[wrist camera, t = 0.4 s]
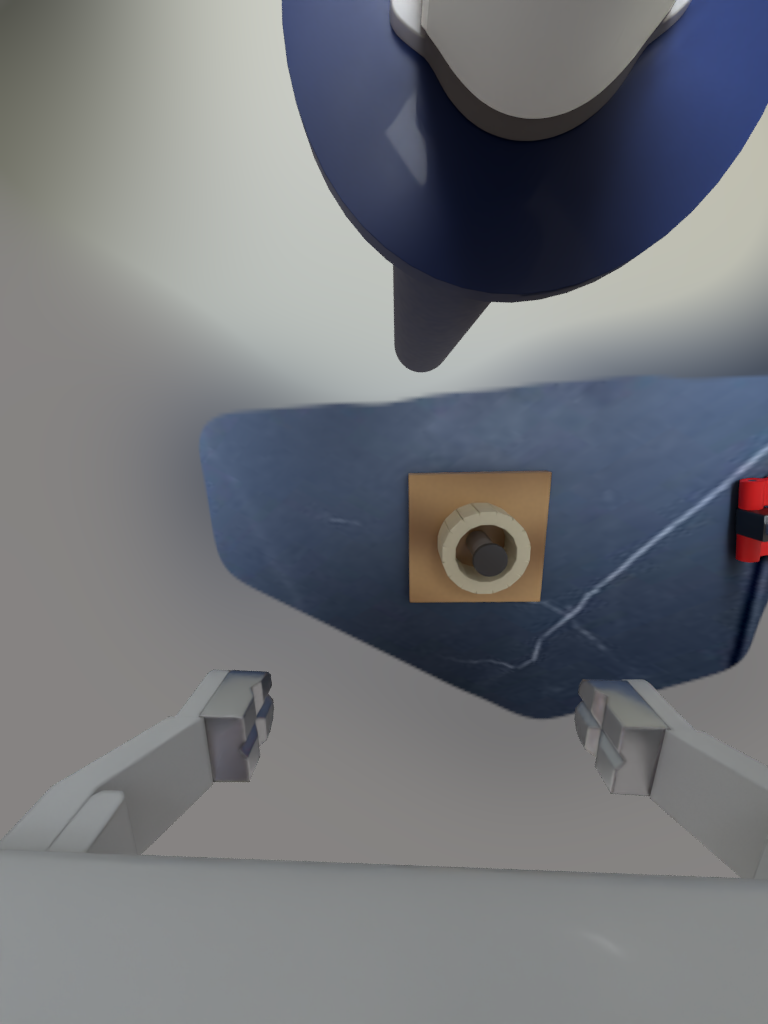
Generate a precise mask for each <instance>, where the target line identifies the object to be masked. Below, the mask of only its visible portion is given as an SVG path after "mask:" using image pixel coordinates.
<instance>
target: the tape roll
mask: <svg viewBox="0 0 768 1024" xmlns="http://www.w3.org/2000/svg"><path fill="white" fill-rule="evenodd" d="M480 525H495V526H497V527H500V528H502V529H503V531H504V534H505V546H504V548H503V549H504V550H505V552H506V553H507V556H508V563H507V566H506V568H505V569H504V571H503V572H501V573H500V574H498V575H496V576H492V577H487V576H483V575H481V574H479V573H478V572H477V571H476V569H475V568H474V566H473V567H471V566H468V565H466V564H463V563H461V562H460V561H459V560H458V559H456V547H457V545H458V543H459V541H460V539H461V537H462V536H463V535H465V534H466V533H467V532H468V531H469V530H470V529H473V528H475V527H477V526H480ZM438 534H439V535H438V552H439V555H440V558H441V561H442V564H443V566H444V569H445V571H446V573H447V576H448V577H449V578H450V579H451V580H452V581H453V582H454V583H455V584H456V585H457V586H458V587H460V588H461V589H464V590H466V591H469V592H472V593H474V594H475V593H476V594H492V592H493V593H496V592H499V591H501V590H504V589H507V588H508V587H510V586H511V585H512V584H513V583H515V582H516V581H517V580H518V579H519V578H520V577H521V576H522V575H523V573H524V571H525V569H526V567H527V566H528V564H529V562H528V561H530V550H531V546H530V541H529V539H528V536H527V533H526V531H525V530H524V528H523V527H522V526H521V525H520V524H519V523H518V522H517V521H516V520H515V519H514V518H513V517H512V516H510V515H509V514H508V513H507V512H506V511H504V510H503V509H502V508H500V507H497V506H495V505H492V504H490V503H471V504H470V503H469V504H467V505H464V506H462V507H460V508H457V511H456V510H454V511H453V512H452V513H451V514H450V515H449V516H448V517H447V518H446V519H445V521H443V524H442V526H441V528H440V530H439V533H438ZM520 575H521V576H520Z"/></svg>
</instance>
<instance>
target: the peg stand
mask: <svg viewBox="0 0 768 1024" xmlns="http://www.w3.org/2000/svg"><path fill="white" fill-rule="evenodd" d="M551 475H552V472H549V471H546V470H544V471H493V472H441V473H409V474H408V495H409V600H410V602H540V596H541V585H542V574H543V563H544V552H545V541H546V530H547V519H548V508H549V497H550V486H551ZM469 503H470V504H471V503H490V504H492V505H495V506H497V507H500V508H502V509H503V510H504V511H506V512H507V513H508V514H509V515H510V516H512V517H513V518H514V519H515V520H516V521H517V522H518V523H519V524H520V525H521V526H522V527H523V528H524V530H525V531H526V533H527V536H528V539H529V541H530V546H531V550H530V561H528V562H529V564H528V566H527V567H526V569H525V571H524V573H523V575H522V576H521V575H520V576H521V577H520V578H519V579H518V580H517V581H516V582H515V583H513V584H512V585H511V586H510V587H508V588H507V589H504V590H501V591H499V592H496V593H493V592H492V594H476V593H475V594H474V593H472V592H469V591H466V590H464V589H461V588H460V587H458V586H457V585H456V584H455V583H454V582H453V581H452V580H451V579H450V578H449V577H448V576H447V573H446V571H445V569H444V566H443V564H442V561H441V558H440V555H439V552H438V535H439V534H438V533H439V530H440V528H441V526H442V524H443V521H445V519H446V518H447V517H448V516H449V515H450V514H451V513H452V512H453V511H454V510H456V511H457V508H460V507H462V506H464V505H467V504H469ZM504 546H505V534H504V531H503V529H502V528H500V527H497V526H495V525H480V526H477V527H475V528H473V529H470V530H469V531H468V532H467V533H466V534H465V535H463V536H462V537H461V539H460V541H459V543H458V545H457V547H456V559H458V560H459V561H460V562H461V563H463V564H466V565H468V566H471V567H473V566H474V568H475V569H476V571H477V572H478V573H479V574H481V575H483V576H487V577H492V576H496V575H498V574H500V573H501V572H503V571H504V569H505V568H506V566H507V563H508V556H507V553H506V552H505V550H504V549H503V548H504Z"/></svg>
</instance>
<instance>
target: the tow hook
mask: <svg viewBox="0 0 768 1024" xmlns="http://www.w3.org/2000/svg"><path fill="white" fill-rule="evenodd" d="M767 505H768V477H767V478H762V479H760V478H746V479H741V480H739V499H738V507H737V508H736V522H735V532H736V533H737V538H736V557H735V558H736V559H737V560H739V561H743V562H758V561H759V560H760V556H765V555H767V556H768V508H766V507H763V506H767Z"/></svg>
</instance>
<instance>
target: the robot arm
mask: <svg viewBox="0 0 768 1024" xmlns="http://www.w3.org/2000/svg"><path fill="white" fill-rule="evenodd" d="M691 1H692V0H390V9H389V17H390V23H391V26H392V28H393V30H394V32H395V33H396V34H397V35H398V37H399V38H400V39H401V40H402V41H404V42H405V43H406V44H407V45H408V46H410V47H411V48H412V49H413V50H415V51H416V52H417V53H419V54H420V55H421V56H423V57H424V58H425V59H426V60H427V62H428V63H429V64H430V66H431V68H432V69H433V71H434V73H435V75H436V77H437V78H438V80H439V82H440V84H441V86H442V88H443V90H444V91H445V93H446V94H447V96H448V98H449V99H450V100H451V102H452V103H453V104H454V106H455V107H456V108H457V109H458V110H459V111H460V112H461V113H462V114H463V115H464V116H465V117H466V118H467V119H468V120H469V121H471V122H472V123H473V124H475V125H476V126H477V127H479V128H481V129H482V130H484V131H486V132H488V133H490V134H492V135H495V136H498V137H501V138H505V139H509V140H515V141H536V140H542V139H547V138H551V137H555V136H557V135H560V134H563V133H565V132H567V131H569V130H571V129H573V128H575V127H577V126H578V125H580V124H582V123H583V122H585V121H586V120H587V119H589V118H590V117H591V116H593V115H594V114H595V113H596V112H597V111H599V110H600V109H601V108H602V107H603V106H604V105H605V104H606V103H607V102H608V101H609V99H610V98H611V97H612V96H613V95H614V94H615V92H616V91H617V90H618V89H619V87H620V86H621V85H622V83H623V82H624V80H625V79H626V77H627V76H628V74H629V72H630V71H631V69H632V67H633V66H634V64H635V63H636V61H637V59H638V58H639V56H640V55H641V54H642V52H643V51H644V50H645V48H646V47H647V46H648V45H649V44H650V43H651V42H652V41H654V40H655V39H656V38H658V37H659V36H660V35H661V34H662V33H664V32H665V31H666V30H667V29H669V28H670V27H671V26H672V25H673V24H674V23H675V22H676V21H677V20H678V19H679V18H680V17H681V16H682V15H683V14H684V12H685V11H686V9H687V8H688V6H689V4H690V2H691ZM271 686H272V682H271V674H269V672H261V671H240V670H232V671H231V670H212V671H210V672H209V673H208V674H207V675H206V676H205V678H204V679H203V680H202V682H201V683H200V685H199V686H198V687H197V688H196V690H195V691H194V693H193V694H192V695H191V696H190V698H189V699H188V700H187V702H186V703H185V705H184V706H183V707H182V708H181V710H180V711H179V713H178V714H177V715H176V716H175V717H173V716H172V717H170V716H169V717H168V718H166V719H164V720H163V721H161V722H159V723H158V724H156V725H154V726H152V727H151V728H149V729H147V730H146V731H144V732H142V733H141V734H139V735H137V736H136V737H134V738H132V739H131V740H129V741H127V742H126V743H124V744H122V745H120V746H119V747H117V748H115V749H114V750H112V751H110V752H109V753H107V754H105V755H104V756H102V757H101V758H98V759H97V760H95V761H93V762H92V763H90V764H88V765H87V766H85V767H83V768H82V769H80V770H78V771H77V772H75V773H73V774H71V775H70V776H68V777H66V778H65V779H63V780H62V781H60V782H58V783H56V784H55V785H53V786H52V787H51V788H50V789H49V790H48V791H47V792H46V793H45V794H44V795H43V796H42V797H41V798H40V799H39V800H38V801H37V802H36V803H35V805H34V806H33V807H32V808H31V809H30V810H29V811H28V812H27V813H26V814H25V815H24V816H23V817H22V818H21V819H20V821H18V822H17V824H16V825H15V826H14V827H13V828H12V829H11V830H10V831H9V832H8V833H7V834H6V835H5V836H4V837H3V838H2V840H0V1024H768V766H767V765H765V764H763V763H761V762H759V761H757V760H756V759H754V758H752V757H750V756H748V755H746V754H745V753H742V752H741V751H739V750H737V749H735V748H734V747H732V746H730V745H728V744H726V743H724V742H722V741H720V740H719V739H717V738H715V737H713V736H711V735H710V734H708V733H706V732H704V731H696V730H695V729H694V728H693V727H692V726H691V725H690V724H689V723H688V722H687V721H686V720H685V719H684V718H683V717H682V716H681V715H680V714H679V713H678V712H677V711H676V710H675V709H674V708H673V707H672V706H671V705H670V704H669V702H668V701H667V700H665V698H664V697H662V695H661V694H660V693H659V692H658V691H657V690H656V689H655V688H654V687H653V686H652V685H651V684H650V683H649V682H647V681H645V680H585V679H583V680H582V681H581V683H580V685H579V691H578V693H579V695H580V696H581V698H582V699H583V701H582V702H581V703H580V704H579V705H578V706H577V707H576V710H575V725H576V731H577V734H578V737H579V739H580V741H581V743H582V745H583V747H584V748H585V750H587V751H588V752H589V753H590V754H592V755H593V756H595V757H596V762H595V767H596V769H597V771H598V773H599V774H600V776H601V778H602V779H603V781H604V783H605V785H606V786H607V788H608V790H609V791H610V793H611V794H623V795H639V796H650V799H651V800H652V801H654V802H655V803H656V804H657V805H658V806H659V807H660V808H661V809H663V810H664V811H665V812H666V813H667V814H668V815H670V816H671V817H672V818H673V819H674V820H675V821H676V822H678V823H679V824H680V825H681V826H682V827H683V828H685V829H686V830H687V831H688V832H689V833H690V834H691V835H692V836H694V837H695V838H696V839H697V840H698V841H699V842H700V843H702V844H703V845H704V846H705V847H706V848H707V849H709V850H710V851H711V852H712V853H713V854H714V855H715V856H717V857H718V858H719V859H720V860H721V861H722V862H723V863H725V864H726V865H727V866H728V867H729V868H730V869H731V870H733V871H734V872H735V873H736V874H737V875H738V876H740V877H741V878H722V877H696V876H672V875H647V874H645V875H644V874H619V873H595V872H568V871H543V870H517V869H492V868H491V869H490V868H465V867H439V866H413V865H389V864H363V863H337V862H311V861H285V860H260V859H233V858H207V857H182V856H156V855H141V854H142V853H143V852H144V851H145V850H146V849H147V848H148V847H149V846H150V845H151V844H152V843H153V842H154V841H155V840H157V839H158V838H159V837H160V836H161V835H162V834H163V833H164V832H165V831H166V830H167V829H168V828H169V827H170V826H171V825H172V824H173V823H174V822H175V821H176V820H177V819H178V818H179V817H180V816H181V815H182V814H183V813H184V812H185V811H186V810H187V809H188V808H189V807H190V806H192V805H193V804H194V802H196V801H197V800H198V799H199V798H200V797H201V796H202V795H203V794H204V793H205V792H206V791H207V790H208V789H209V788H210V787H211V786H212V785H213V782H250V779H251V777H252V775H253V772H254V770H255V767H256V765H257V763H258V760H259V758H260V750H259V746H260V745H261V744H263V743H264V742H265V741H266V740H267V738H268V735H269V733H270V730H271V725H272V721H273V711H274V705H273V699H272V698H271V697H270V696H269V694H268V693H269V690H270V688H271Z"/></svg>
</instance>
